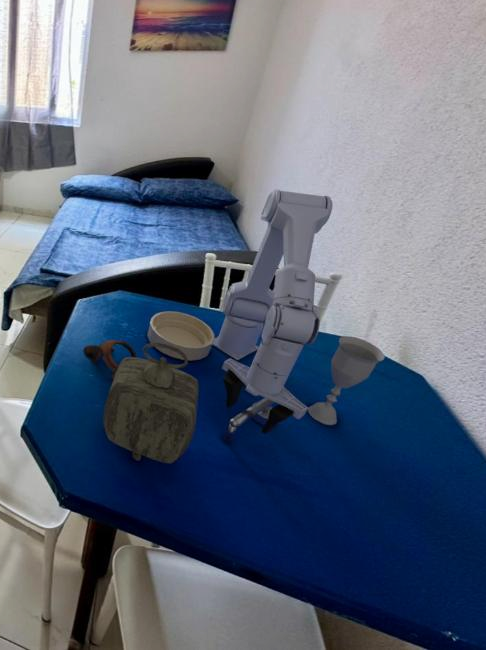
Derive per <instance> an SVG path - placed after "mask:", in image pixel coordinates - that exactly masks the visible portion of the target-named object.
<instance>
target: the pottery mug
mask: <svg viewBox="0 0 486 650" xmlns="http://www.w3.org/2000/svg"><path fill="white" fill-rule="evenodd" d="M115 345H119V346H122V347H123V348H125V349H127V350H128V352H129V354H130V357H135V358H138V357H137V353H136V352H135V349H134V348H133V347H132V345H131V344H129V343H128V342H126V341H123V340H106V341H104V342H102V343H101V344H99V345H97V344H90V345H86V346H85V347H84V348H83V355H84V357H86V359H88V360H89V361H90V362H91V364H92V365H93V366H94V365H96V362H97V361H98V360H99V359H101V358H102V359H103V361H104V362H105V364H106V365H107V366H108V368H109V369H110V370H111V371H112V372H113V374H111V376H110V378H109V379H110V380H112V381H113V380H114V377H115V374H116V372H117V369H118V367H119V364H118V363H117V362H116V361H115V360H114V358H113V356H112V354H113V352H115V351H116V349H115V348H113V347H114V346H115Z"/></svg>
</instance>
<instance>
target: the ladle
mask: <svg viewBox="0 0 486 650" xmlns="http://www.w3.org/2000/svg"><path fill="white" fill-rule="evenodd" d="M274 403H275V402H274V401H272V400H269V399H267V398H265V397H263V398H262V399H260V400H259V401H257V402H254V403H253V404H252V405H251V406H249V407H248V408H246V409H245V410H243V411H242V412H240V413H239V414H237V415H235V416H234V417H232V418H231V419H230V420H229V425H228V427H227V430H226V432H225V434H224V436H223V440H224V442H226V443H230V442H232V439H233V437H234V434H235V432H236V430H237V428H239V427H240V426H242V425H243V424H244V423H246V422H247V421H249V420H250V419H252V420H253V421H255V422H256V423H258V424H260V425H262V426H264V425H265V424H266V422H267V420H268V417H269V412H270V409H272V408H273V407H272V405H273V404H274Z"/></svg>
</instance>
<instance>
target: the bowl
mask: <svg viewBox="0 0 486 650" xmlns="http://www.w3.org/2000/svg"><path fill="white" fill-rule="evenodd" d="M147 329H148V330H147V334H146V335H147V336H146V337H147V339H148V341H149V343H162V344H167V345H170V346H173V347H175V348H178V349H179V350H181V351H182V352H183V353H184V354H185V355H186V356H187V359H188V361H198V360H203V359H204V358H206V357H208V356H209V354H210V353H211V350H212V348H213V346H214V345H213V342H214V338H215V333H214V331H213V329H212V328H211V327H210V326H209V325H208V324H207V323H206V322H205V321H203V320H201V319H200V318H198V317H196V316H193V315H191V314H188V313H185V312H180V311H172V310H171V311H169V310H168V311H161V312H158V313H155V314H154V315H153V316H152V317H151V318H150V322H149V325H148V328H147ZM154 348H155V349H156V350H158V351H159V352H160V353H163V354H165V355H167V356H169V357H171V358H174V359H178V360H181V361H185V360H184V358H183V357H182V356H181V355H180V354H178V353H177V352H175V351H172V350H169V349H166V348H162V347H154Z"/></svg>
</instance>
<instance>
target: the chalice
mask: <svg viewBox="0 0 486 650" xmlns="http://www.w3.org/2000/svg"><path fill="white" fill-rule="evenodd" d="M338 344H339V345H338V347H337V349H336V351H335V353H334V354H333V356H332V358H331V365H330V371H331V379H332V382H333V384H335V386H334V387H333V388H331V389H330V391H331V393H330V394H327V395H326V398H327V400H326V401H325V402H324V401H319V402H315V403H314V404H312V405H310V406H309V407H308V409H307V412H308V414H309V415H310V416H311V417H312V418H313V419H314V420H316V421H317V422H319V423H321V424H323V425H328V426H333V425H336V424H337V422H338V420H337V411H336V409H335V407H334V406H333V404H334V403H337V402H338V399H337V397H338V396H340V395H341V390H342V388H343V389H349V388H352V387H354V386H356V385H358V384H361V383H363V382H364V381H365V380H367V379H368V378H369V377H370V375H371V374H372V372H373V371H374V369H375V367H376V365H377V364H378V363H380V362H382V361H384V359H385V358H386V357H385V354H384V353H383V351H382V350H381V349H380V348H378V347H377V346H376V345H374V344H373V343H371V342H368V341H367V340H364V339H362V338H358V337H355V336H349V335H348V336H347V335H346V336H340V338H338Z"/></svg>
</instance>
